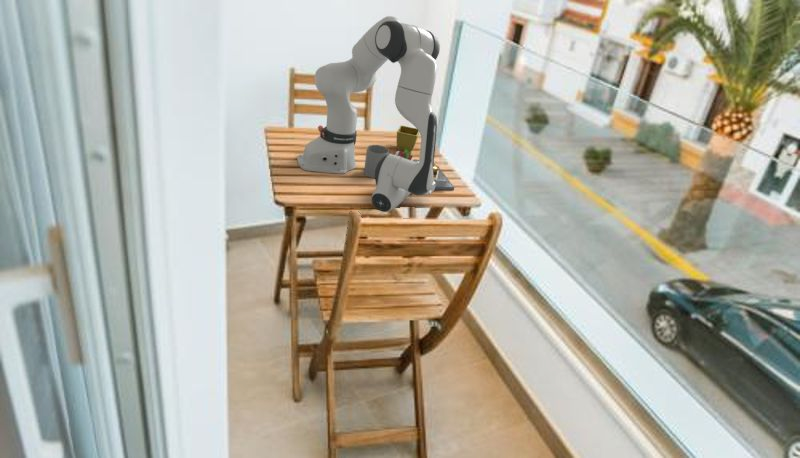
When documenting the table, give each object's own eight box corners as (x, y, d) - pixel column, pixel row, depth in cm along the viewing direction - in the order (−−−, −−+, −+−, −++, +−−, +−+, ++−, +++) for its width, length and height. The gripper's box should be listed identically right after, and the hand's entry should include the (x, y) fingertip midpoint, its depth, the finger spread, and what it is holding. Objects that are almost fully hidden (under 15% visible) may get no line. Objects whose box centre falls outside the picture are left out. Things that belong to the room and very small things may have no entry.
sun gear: (422, 177, 203) (424, 168, 201) (416, 169, 209) (418, 160, 207) (440, 177, 205) (442, 168, 203) (433, 169, 211) (435, 160, 209)
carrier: (424, 189, 194) (426, 180, 192) (410, 170, 207) (412, 161, 205) (453, 189, 198) (455, 181, 196) (438, 170, 211) (440, 162, 209)
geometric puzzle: (411, 156, 214) (403, 142, 209) (419, 163, 209) (411, 149, 204) (397, 166, 214) (389, 152, 208) (404, 173, 209) (396, 159, 203)
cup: (366, 177, 195) (369, 153, 190) (361, 168, 201) (364, 144, 196) (387, 178, 197) (391, 154, 192) (382, 169, 204) (386, 145, 199)
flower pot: (413, 155, 221) (417, 135, 216) (393, 151, 222) (396, 131, 217) (416, 148, 229) (420, 129, 224) (397, 144, 229) (400, 125, 225)
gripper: (429, 187, 174) (443, 173, 185) (375, 169, 179) (391, 157, 191) (426, 203, 177) (439, 189, 188) (372, 185, 183) (388, 172, 194)
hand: (414, 172), depth 190 cm, fingers open, 8 cm apart
